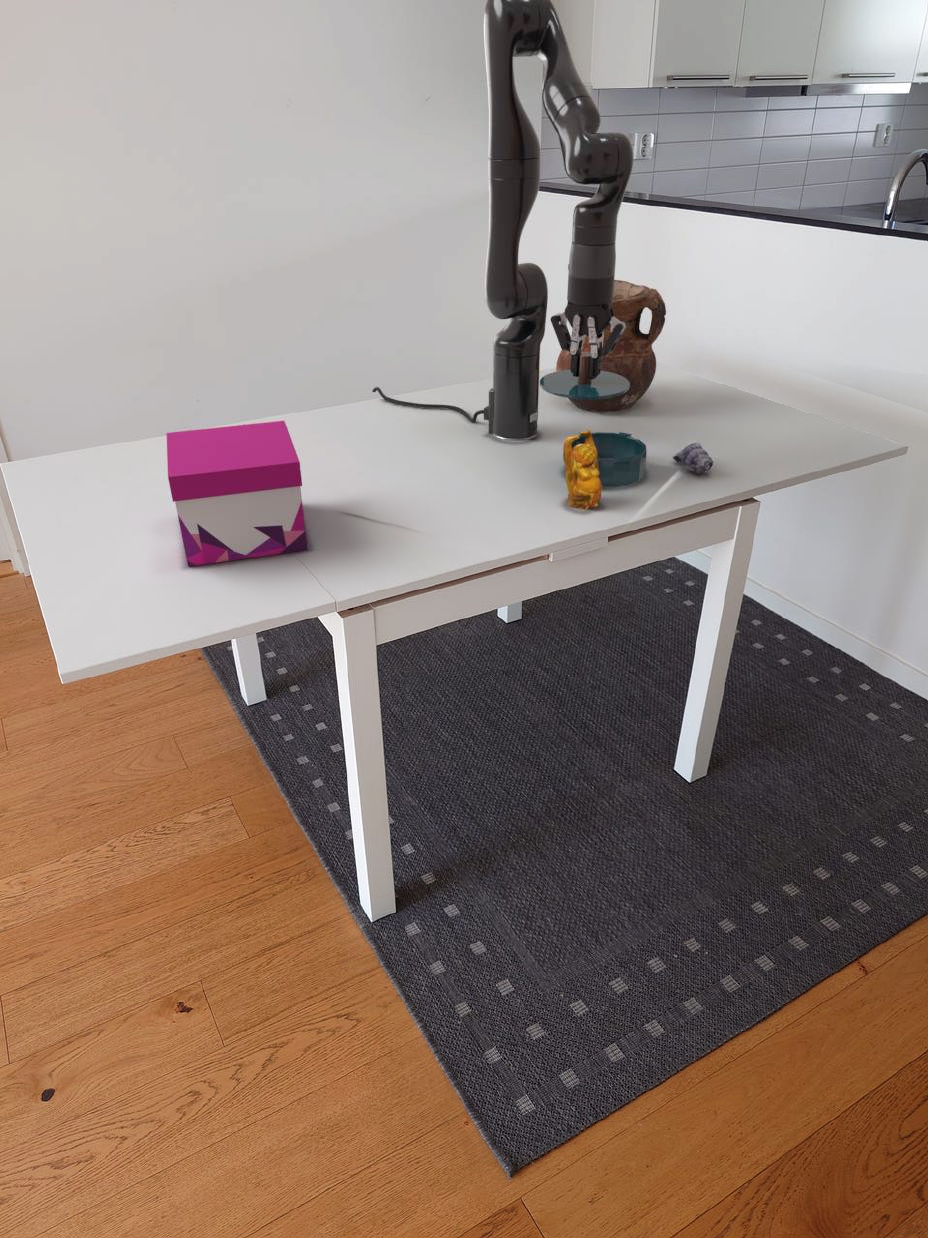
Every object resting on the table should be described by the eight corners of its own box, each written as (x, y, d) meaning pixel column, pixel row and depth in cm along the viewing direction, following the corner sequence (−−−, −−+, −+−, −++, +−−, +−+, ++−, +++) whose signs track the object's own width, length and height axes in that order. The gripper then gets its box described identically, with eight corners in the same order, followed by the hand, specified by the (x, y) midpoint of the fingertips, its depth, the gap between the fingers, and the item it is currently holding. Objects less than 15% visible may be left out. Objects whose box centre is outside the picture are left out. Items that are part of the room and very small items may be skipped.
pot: (545, 484, 162) (546, 456, 159) (589, 449, 176) (591, 423, 173) (620, 501, 155) (623, 472, 153) (659, 463, 170) (662, 436, 167)
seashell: (676, 466, 172) (704, 487, 164) (664, 447, 169) (692, 468, 161) (698, 447, 171) (727, 467, 163) (686, 428, 168) (715, 448, 160)
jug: (558, 418, 192) (564, 298, 178) (550, 388, 209) (555, 277, 196) (661, 417, 192) (675, 297, 178) (643, 387, 209) (655, 276, 196)
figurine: (591, 516, 150) (596, 443, 144) (558, 506, 154) (562, 435, 147) (609, 503, 155) (616, 433, 148) (577, 494, 158) (582, 425, 151)
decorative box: (309, 550, 141) (299, 461, 133) (186, 568, 136) (167, 477, 128) (294, 502, 156) (284, 420, 148) (182, 516, 152) (166, 432, 144)
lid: (523, 393, 153) (524, 359, 150) (563, 370, 164) (564, 338, 161) (607, 408, 146) (610, 372, 143) (642, 383, 157) (646, 349, 154)
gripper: (640, 271, 144) (630, 377, 154) (563, 263, 151) (558, 365, 160) (622, 280, 139) (613, 388, 148) (543, 271, 145) (539, 376, 154)
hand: (584, 376), depth 154 cm, fingers closed on lid, 2 cm apart
